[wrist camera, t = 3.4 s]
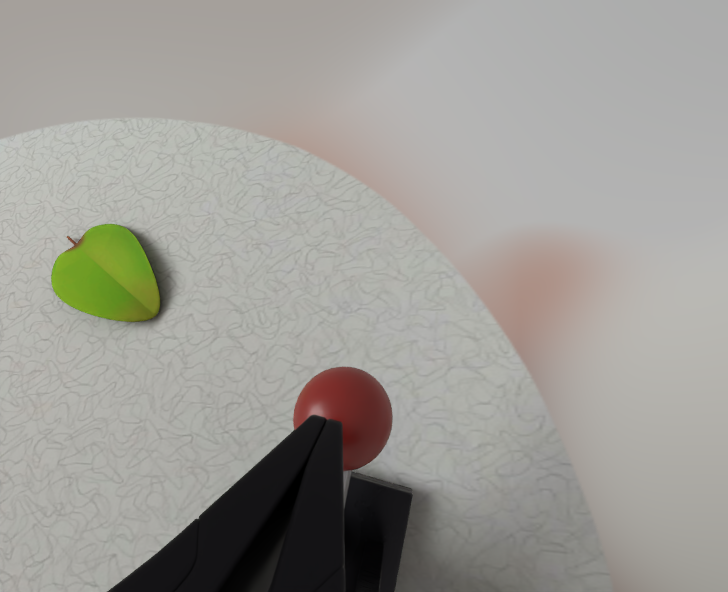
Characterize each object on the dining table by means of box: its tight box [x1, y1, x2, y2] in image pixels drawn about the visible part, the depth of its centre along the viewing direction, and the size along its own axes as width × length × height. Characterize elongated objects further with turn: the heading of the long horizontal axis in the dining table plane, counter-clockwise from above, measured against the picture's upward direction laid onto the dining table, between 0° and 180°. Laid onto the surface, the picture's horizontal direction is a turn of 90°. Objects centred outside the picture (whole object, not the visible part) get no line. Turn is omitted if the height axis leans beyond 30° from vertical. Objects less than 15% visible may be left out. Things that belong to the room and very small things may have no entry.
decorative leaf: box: [51, 224, 160, 322], centre depth 26 cm, size 8×9×1 cm
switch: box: [293, 367, 392, 508], centre depth 13 cm, size 13×3×3 cm, turn 166°
